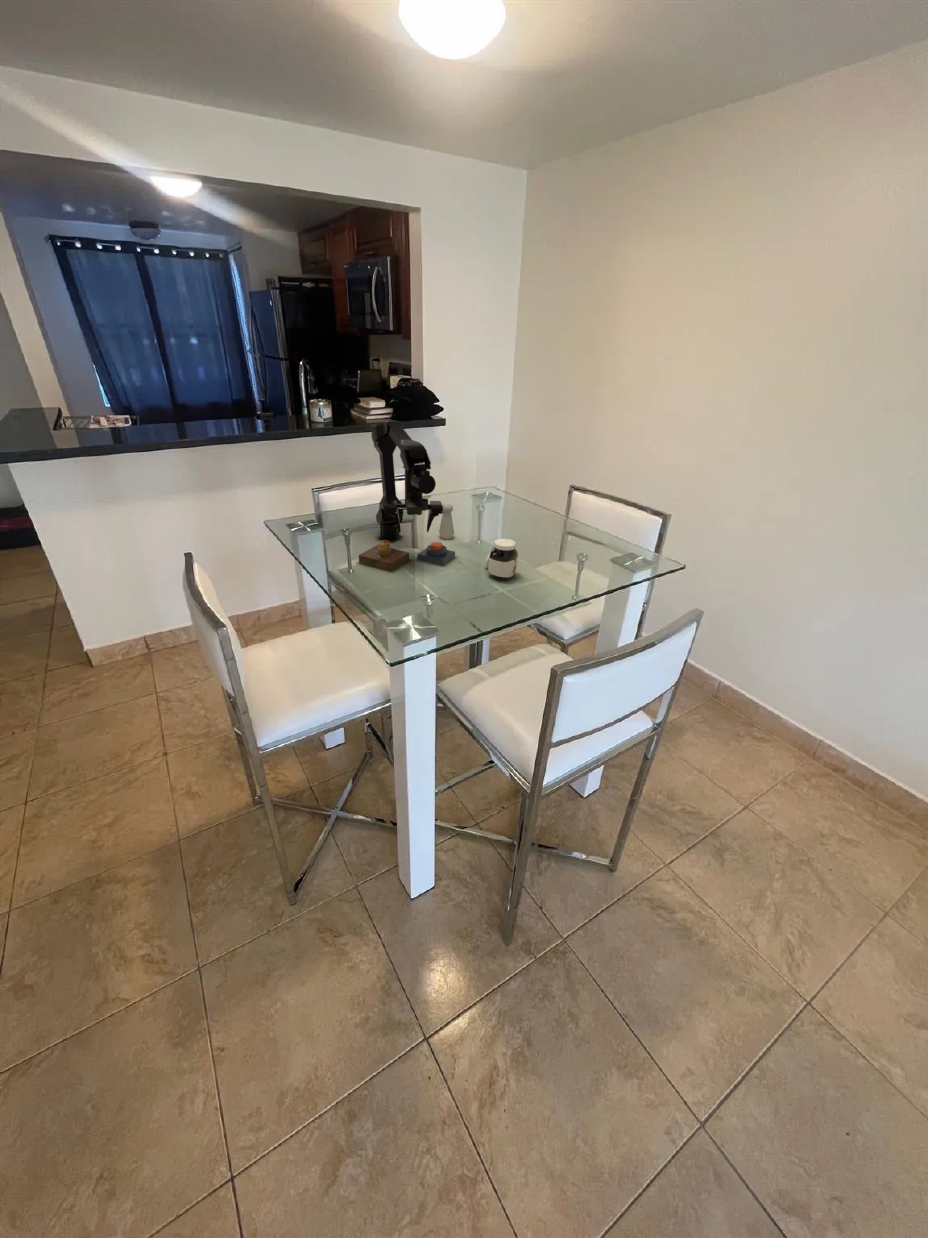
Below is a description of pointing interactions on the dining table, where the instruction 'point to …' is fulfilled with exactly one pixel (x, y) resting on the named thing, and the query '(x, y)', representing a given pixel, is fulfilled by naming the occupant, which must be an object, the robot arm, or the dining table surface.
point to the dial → (384, 548)
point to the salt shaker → (446, 522)
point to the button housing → (436, 555)
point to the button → (436, 546)
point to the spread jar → (502, 559)
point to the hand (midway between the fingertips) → (413, 531)
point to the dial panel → (384, 559)
